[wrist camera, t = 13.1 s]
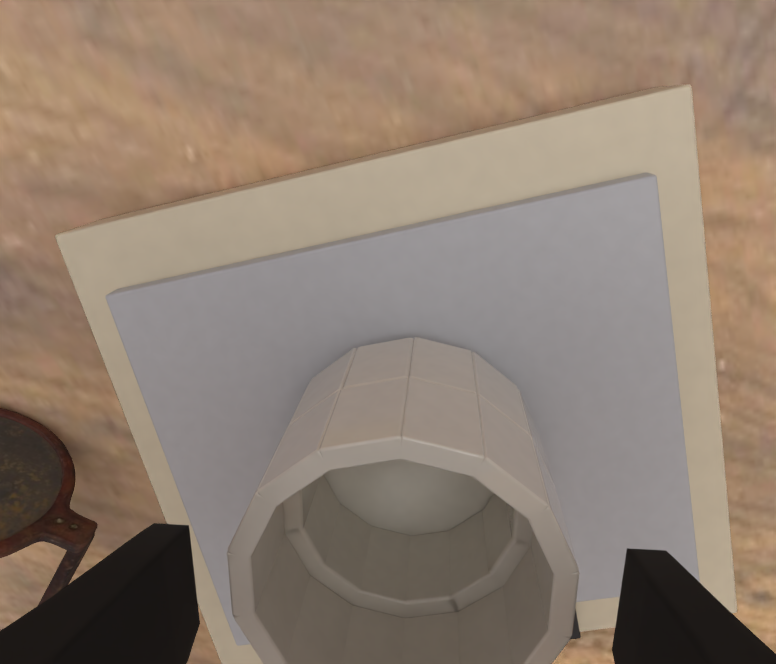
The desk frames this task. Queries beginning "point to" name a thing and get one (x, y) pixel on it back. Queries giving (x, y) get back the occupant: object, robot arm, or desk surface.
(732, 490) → the desk surface
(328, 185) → the scale
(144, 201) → the desk surface
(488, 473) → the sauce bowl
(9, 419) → the eyeglasses
